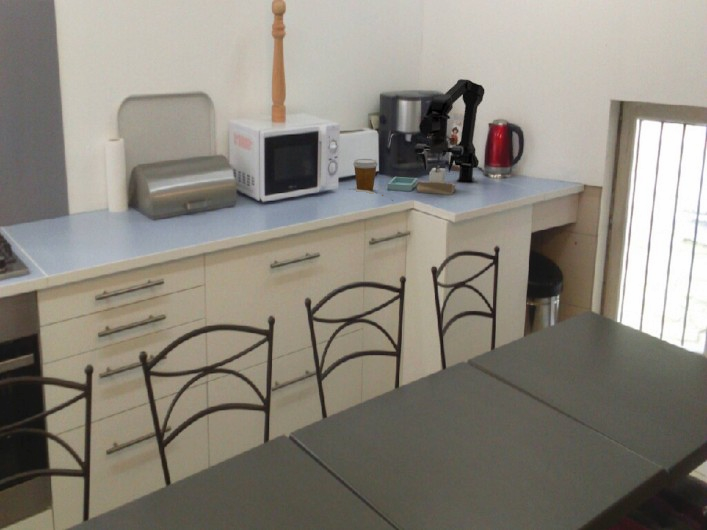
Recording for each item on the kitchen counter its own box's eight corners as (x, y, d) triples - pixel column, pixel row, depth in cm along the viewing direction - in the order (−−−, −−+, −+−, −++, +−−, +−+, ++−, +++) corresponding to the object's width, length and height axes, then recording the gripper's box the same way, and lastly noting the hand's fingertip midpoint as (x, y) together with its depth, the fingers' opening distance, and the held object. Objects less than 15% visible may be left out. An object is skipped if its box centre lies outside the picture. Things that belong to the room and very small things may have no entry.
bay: (421, 186, 309) (422, 176, 307) (455, 188, 305) (455, 178, 304) (417, 192, 299) (417, 182, 298) (451, 194, 296) (452, 184, 294)
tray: (394, 182, 314) (394, 176, 314) (417, 184, 312) (417, 178, 311) (387, 189, 302) (387, 183, 301) (411, 191, 300) (411, 185, 299)
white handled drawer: (432, 187, 307) (433, 164, 304) (444, 188, 306) (445, 164, 303) (428, 192, 299) (429, 168, 296) (441, 193, 298) (442, 169, 295)
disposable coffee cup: (362, 187, 306) (362, 157, 302) (381, 190, 301) (382, 160, 297) (348, 191, 299) (348, 161, 295) (367, 194, 294) (368, 164, 290)
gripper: (412, 133, 290) (410, 173, 295) (460, 135, 286) (458, 176, 291) (417, 129, 300) (415, 168, 305) (464, 131, 296) (462, 170, 301)
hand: (437, 171), depth 300 cm, fingers open, 9 cm apart
